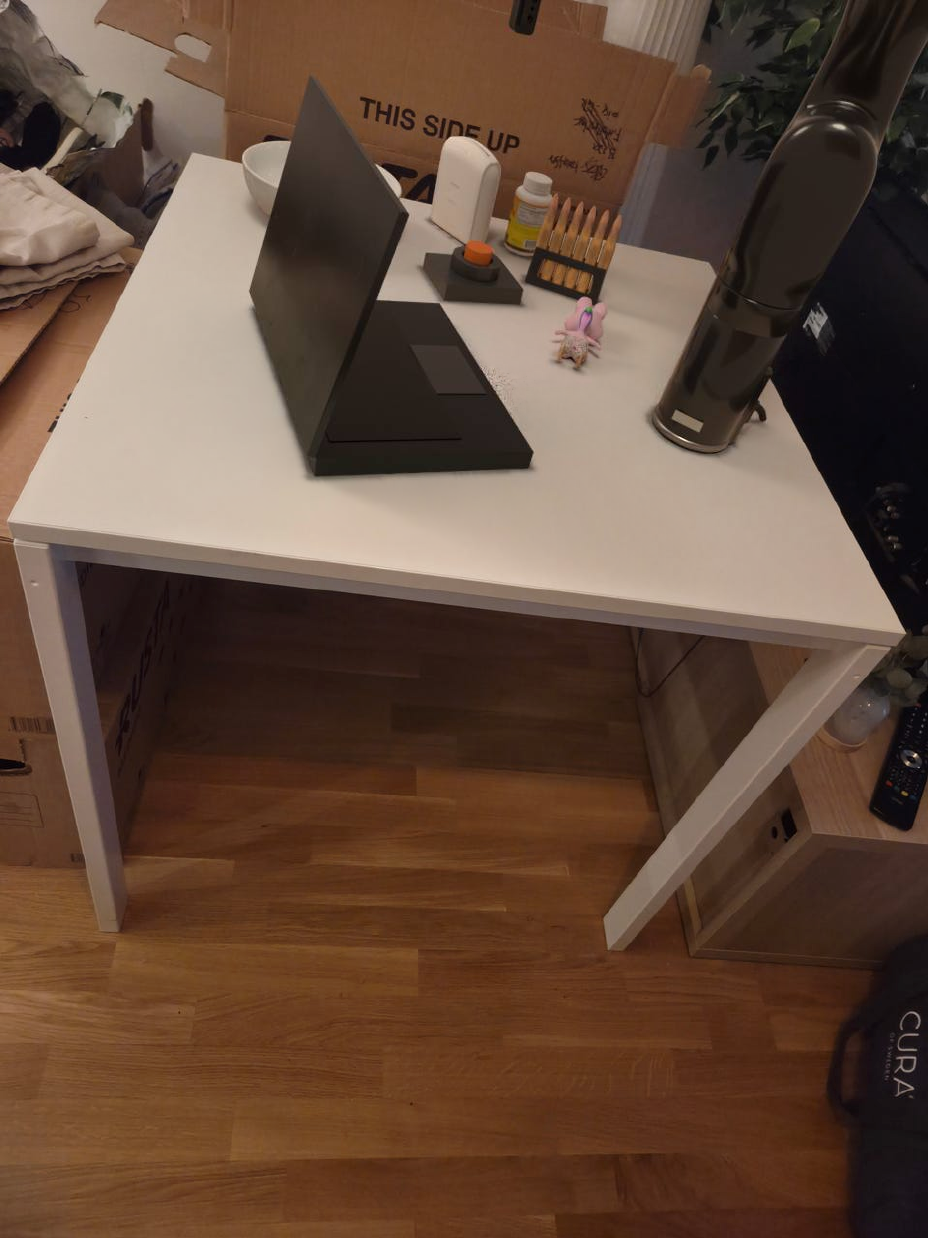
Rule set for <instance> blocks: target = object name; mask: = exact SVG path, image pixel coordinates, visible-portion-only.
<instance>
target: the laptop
mask: <svg viewBox="0 0 928 1238" xmlns="http://www.w3.org/2000/svg"><path fill="white" fill-rule="evenodd" d="M534 454H535V452H534V450H533V449H532V447H531V445H530V444H529V442H528V440H527V439H526V437H525V436H524V434H523V433H522V430H521V429H520V428H519V426H518V425H517V423H516V421H515V420H514V418H513V417H512V415H511V413H510V412H509V410H508V409H507V407H506V406H505V404H504V402H503V401H502V400H501V398H500V397H499V395H498V393H497V391H496V390H495V388H494V387H493V385H492V384H491V381H490V380H489V379H488V377H487V375H486V373H484V371H483V369H482V368H481V366H480V365H479V363H478V362H477V360H476V358H475V357H474V355H473V353H472V351H470V349H469V347H468V345H467V344H466V343H465V341H464V339H463V338H462V336H461V334H460V333H459V332H458V330H457V328H456V327H455V325H454V323H453V322H452V321H451V319H450V317H449V316H448V314H447V312H446V311H445V309H444V308H443V306H442V305H441V303H440V302H425V301H405V300H388V299H387V300H386V299H385V300H384V299H377V300H376V302H375V305H374V308H373V310H372V313H371V315H370V318H369V320H368V323H367V325H366V328H365V331H364V333H363V336H362V338H361V341H360V343H359V346H358V349H357V351H356V354H355V356H354V359H353V361H352V364H351V367H350V369H349V372H348V374H347V377H346V379H345V382H344V385H343V387H342V390H341V392H340V395H339V397H338V400H337V403H336V405H335V408H334V410H333V413H332V415H331V418H330V421H329V423H328V426H327V428H326V431H325V433H324V436H323V438H322V441H321V444H320V446H319V449H318V451H317V454H316V456H315V458H313V457H307V459H308V461H309V465H310V468H311V470H312V473H313V475H314V477H328V476H329V477H332V476H353V475H354V476H356V475H357V476H358V475H359V476H360V475H381V474H384V475H385V474H407V473H408V474H409V473H411V474H412V473H431V472H432V473H433V472H459V471H461V472H462V471H486V470H487V471H488V470H515V469H516V470H517V469H529V467H530V465H531V463H532V459H533V456H534Z"/></svg>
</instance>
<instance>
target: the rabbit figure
mask: <svg viewBox="0 0 928 1238" xmlns="http://www.w3.org/2000/svg"><path fill="white" fill-rule="evenodd" d="M592 306H593V308H592ZM574 309H575V311H574V313H572V314H571V315H570V316H569V317H567V318H566V319H565V320H564V322H563V323H564V328H565V329H556V330H555V331H554V334H555V335H557V336H558V335H564V336H565V337H564V338H563V340H561V343H560V345H559V348H558V353H559V354H558V356H556V358H555V360H557V363H559V362H560V361H561V362H562V363H563V362H564V360H563V358H564V359H567V358H572V359H573V361H574V362H575V364H574V365H573V367H575V366H577V367H576V371H578V369H581V368H582V363H583V362H585V360H586V359H587V357H588V354H589V350H590V345H591V346H594V347H595V348H596V349H597V350H598V351H601V350H602V348H603V347H602V345H601V344H600V343H598V342H597V341H599V340H600V339H601V338H602V337H603V334H604V333H603V328H602V322H603V321H604V320H605V318H606V317H607V315H608V305H607V304H606V303H604V302H597V304H596V305H595V306H594V305H592V301H591V299H590V298H588V297H582V298H580V299H579V300H577V302H576V303H575V306H574Z"/></svg>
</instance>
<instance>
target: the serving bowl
mask: <svg viewBox="0 0 928 1238" xmlns="http://www.w3.org/2000/svg"><path fill="white" fill-rule="evenodd" d="M290 144H291V140H272V141H264V142H260V143H256V144H254V145H251V146H249V147H248V148H247V149H245V150H244V152H242V156H241V164H242V172H243V177H244V182H245V185H246V187H247V190H248V192H249V194H250V195H251V196H252V199H253V201H254V202H255V203H256V204H257V206H259V208H261V210H262V211H263V212H265V213H266V214H267V215H268V216H269V217H270V215H271V211H272V208H273V204H274V200H275V197H276V193H277V190H278V186H279V183H280V179H281V176H282V172H283V168H284V165H285V161H286V158H287V154H288V151H289V147H290ZM375 165H376V166H377V168H378V169H379V171H380V172H381V173H382V175H383V176H384V178H385V179H386V181H387V182H388V184H389V185H390V187H391V188H392V190H393V191H394V193H395V194H396V196H397V197H398V198H399V200H400V201H401V199H402V194H403V190H402V186H401V184H400V182H399V181H398V180H397V179H396V177H395V176H393V175H392V174H391V172H389V171H388V170H386V168H383V167H382V166H381V165H378V164H376V163H375Z"/></svg>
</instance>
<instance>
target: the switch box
mask: <svg viewBox="0 0 928 1238" xmlns="http://www.w3.org/2000/svg"><path fill="white" fill-rule="evenodd" d="M465 248H466V245H460V246H457V247H454V249H453V251H452V253H438V252H425V254H424V258H423V263H422V264H423V265H422V269H423V271H424V272H425V274H426V276H427V277H428V279H429V281H430V282H431V284H432V285H433V286H434V288H435V290H436V292H437V293H438V294H439V296H440V297H441V300H442V301H443V302H457V303H458V302H460V303H478V304H480V303H481V304H495V305H496V304H497V305H514V306H515V305H517V306H520V305H521V300H522V297H523V294H524V287H523V286H522V285H521V284H520V282H519V281H518V280H517V279H516V278H515V276H514V275H513V273H511V271H510V270H509V269H508V267H507V266H506V264H505V263H504V262H503V261H502V259H501V258H500V257H499V256H498V255H496V254H495V253H493V254H492V258H491V262H490V264H488V265H480V264H476V263H473V262H470V261H468V260H467V259H465V258H464V253H465Z"/></svg>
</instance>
